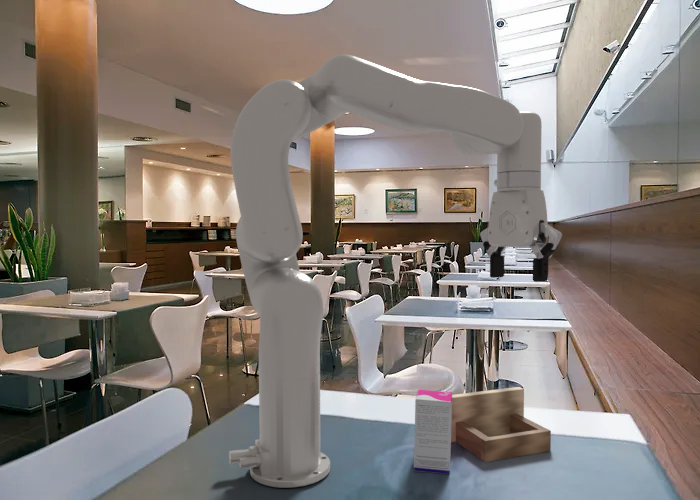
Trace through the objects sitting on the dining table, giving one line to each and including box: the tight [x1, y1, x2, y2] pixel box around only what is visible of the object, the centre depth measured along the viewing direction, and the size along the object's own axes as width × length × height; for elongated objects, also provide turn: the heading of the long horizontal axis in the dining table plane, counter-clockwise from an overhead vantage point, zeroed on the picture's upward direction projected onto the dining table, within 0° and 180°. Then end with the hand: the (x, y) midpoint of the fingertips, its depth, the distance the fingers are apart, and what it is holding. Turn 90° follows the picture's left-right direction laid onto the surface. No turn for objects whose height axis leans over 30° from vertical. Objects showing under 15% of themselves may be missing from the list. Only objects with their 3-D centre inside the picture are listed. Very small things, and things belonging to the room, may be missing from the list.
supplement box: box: [413, 389, 453, 475], centre depth 88 cm, size 6×6×12 cm
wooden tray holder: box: [451, 386, 552, 463], centre depth 96 cm, size 20×11×8 cm, turn 110°
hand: (517, 279), depth 99 cm, fingers open, 9 cm apart
